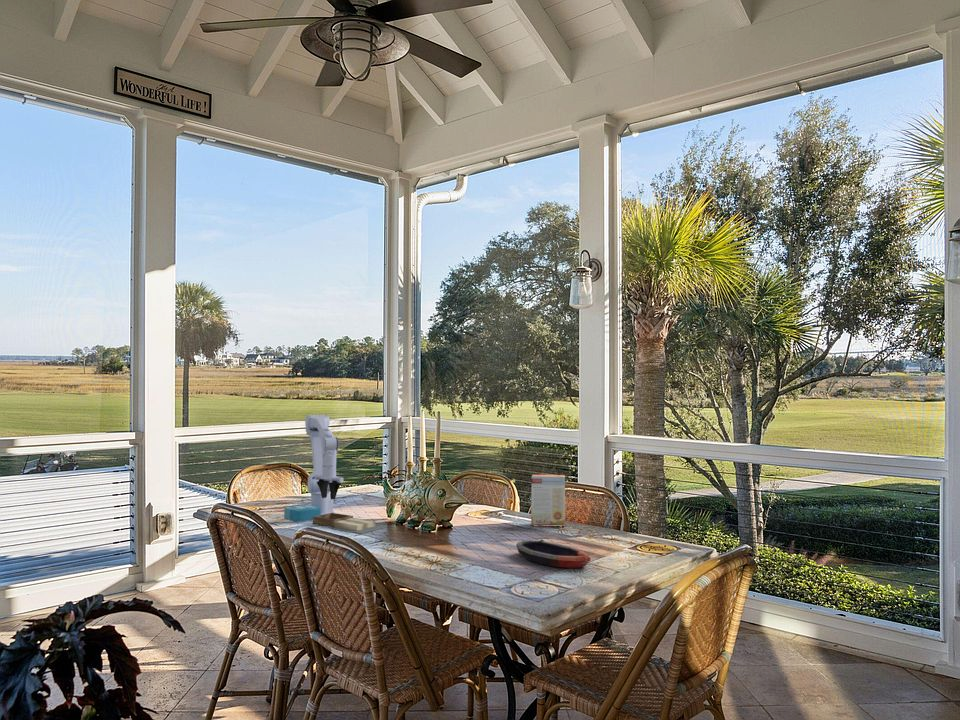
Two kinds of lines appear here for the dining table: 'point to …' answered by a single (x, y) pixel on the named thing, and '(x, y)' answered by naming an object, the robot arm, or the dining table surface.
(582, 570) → the dining table surface
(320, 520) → the walnut box
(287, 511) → the data package
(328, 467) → the robot arm
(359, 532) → the rubber mat
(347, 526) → the cover plate
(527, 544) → the dish
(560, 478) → the cracker box
